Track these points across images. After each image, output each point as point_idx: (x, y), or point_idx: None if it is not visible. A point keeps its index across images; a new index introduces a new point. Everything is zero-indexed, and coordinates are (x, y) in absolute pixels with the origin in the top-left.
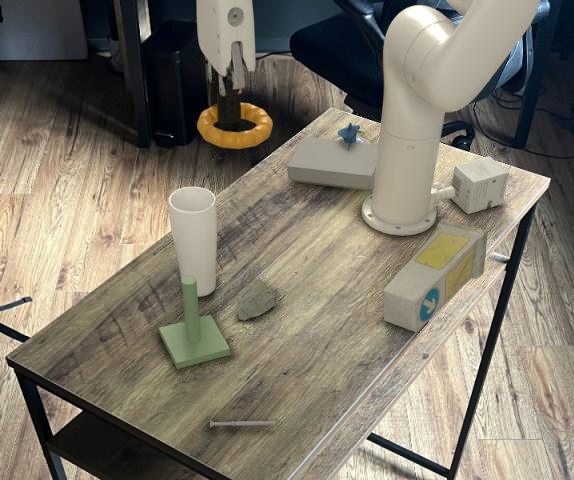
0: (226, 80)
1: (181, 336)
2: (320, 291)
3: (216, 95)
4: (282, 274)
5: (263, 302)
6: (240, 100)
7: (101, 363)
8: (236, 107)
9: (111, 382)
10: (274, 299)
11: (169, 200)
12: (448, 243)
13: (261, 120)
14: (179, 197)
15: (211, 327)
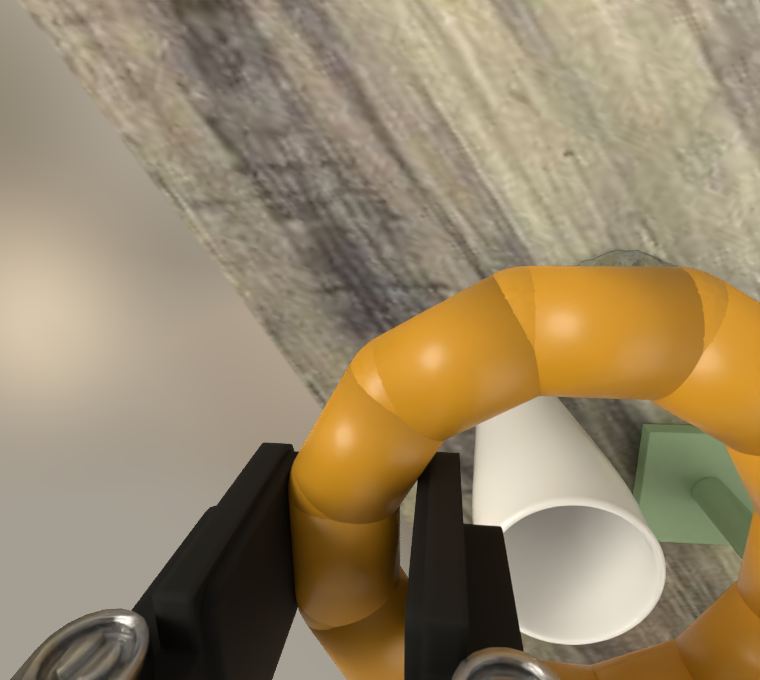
0: (193, 677)
1: (689, 511)
2: (679, 116)
3: (270, 656)
4: (556, 193)
5: None
6: (464, 553)
7: (653, 638)
8: (508, 582)
9: None
10: (660, 261)
11: (540, 638)
12: None
13: (736, 409)
14: None
15: (695, 445)
